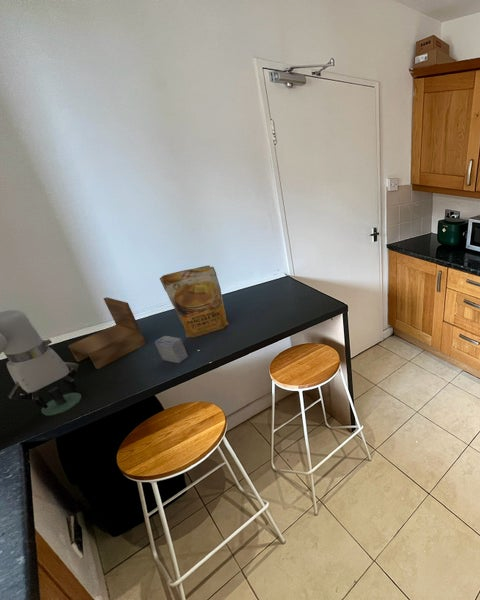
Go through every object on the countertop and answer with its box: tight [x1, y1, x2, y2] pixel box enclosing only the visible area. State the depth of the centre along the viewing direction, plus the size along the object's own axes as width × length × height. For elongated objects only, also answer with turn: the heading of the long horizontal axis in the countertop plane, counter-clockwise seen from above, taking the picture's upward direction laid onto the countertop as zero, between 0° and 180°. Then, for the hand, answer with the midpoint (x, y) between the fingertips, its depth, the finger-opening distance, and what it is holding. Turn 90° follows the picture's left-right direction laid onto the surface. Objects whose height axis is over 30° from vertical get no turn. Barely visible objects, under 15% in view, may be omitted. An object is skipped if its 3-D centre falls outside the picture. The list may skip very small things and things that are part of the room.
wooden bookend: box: [67, 297, 147, 370], centre depth 118 cm, size 17×13×19 cm
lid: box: [41, 386, 83, 416], centre depth 97 cm, size 9×9×6 cm
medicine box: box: [154, 335, 189, 364], centre depth 117 cm, size 8×4×9 cm, turn 74°
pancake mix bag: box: [159, 265, 229, 339], centre depth 130 cm, size 7×19×28 cm, turn 129°
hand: (58, 398), depth 97 cm, fingers open, 6 cm apart
